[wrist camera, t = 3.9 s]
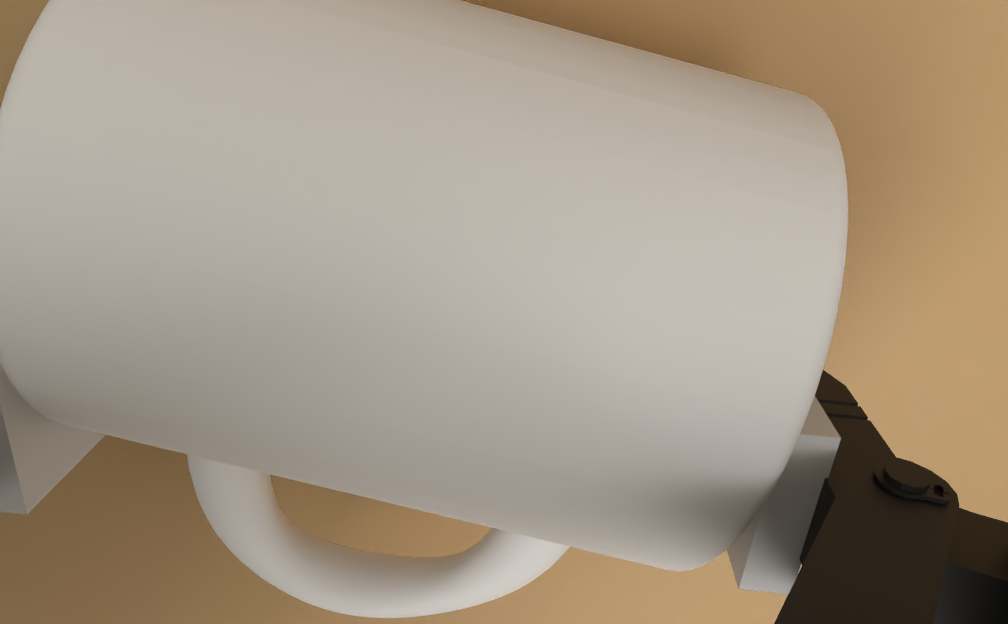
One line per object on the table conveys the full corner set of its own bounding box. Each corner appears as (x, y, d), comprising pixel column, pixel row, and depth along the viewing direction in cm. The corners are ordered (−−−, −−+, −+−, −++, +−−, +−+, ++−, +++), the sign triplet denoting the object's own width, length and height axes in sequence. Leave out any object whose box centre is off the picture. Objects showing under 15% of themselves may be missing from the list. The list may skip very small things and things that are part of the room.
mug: (257, -68, 14) (-59, -115, 7) (755, 68, 15) (955, 160, 7) (209, 437, 19) (-3, 721, 12) (580, 528, 20) (595, 854, 12)
